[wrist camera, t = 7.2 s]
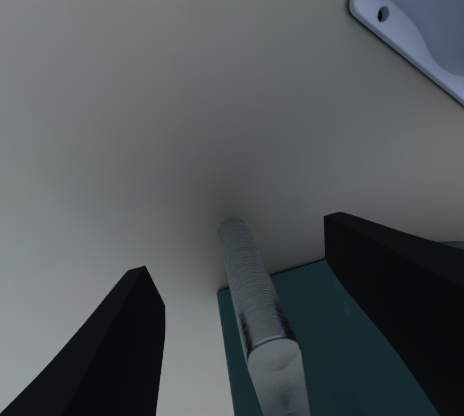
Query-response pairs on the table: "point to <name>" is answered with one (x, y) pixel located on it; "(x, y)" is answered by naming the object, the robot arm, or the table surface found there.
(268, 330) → the teal cabinet door
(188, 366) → the table surface
